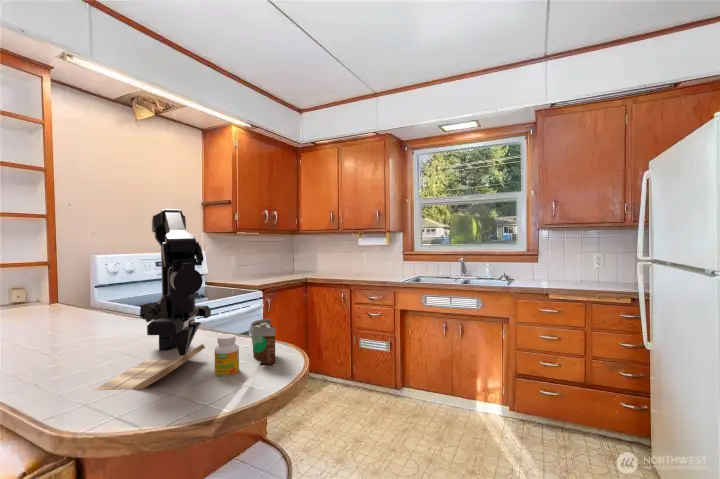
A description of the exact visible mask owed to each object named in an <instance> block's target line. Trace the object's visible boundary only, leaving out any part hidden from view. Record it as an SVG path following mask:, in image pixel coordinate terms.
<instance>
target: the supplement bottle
mask: <svg viewBox="0 0 720 479" xmlns="http://www.w3.org/2000/svg"><path fill="white" fill-rule="evenodd" d="M236 340H237V336H236V335H235V334H232V333H231V334H228V333H227V334H222V335H219V336H217V345H216V347H214V375H215V377H216V376H217V377H230V376H234V375H236V374H238V373H239V372H240V351H239V350H240V348H239V347H240V346H239V345H238V344H237V343H235V342H236Z"/></svg>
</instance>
